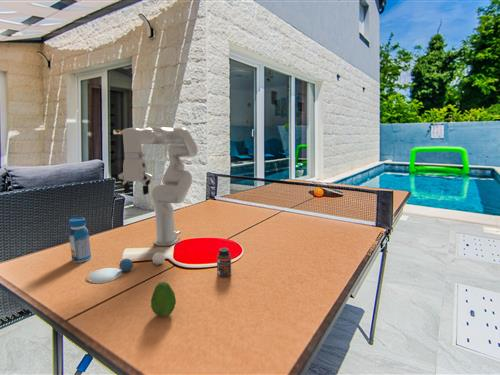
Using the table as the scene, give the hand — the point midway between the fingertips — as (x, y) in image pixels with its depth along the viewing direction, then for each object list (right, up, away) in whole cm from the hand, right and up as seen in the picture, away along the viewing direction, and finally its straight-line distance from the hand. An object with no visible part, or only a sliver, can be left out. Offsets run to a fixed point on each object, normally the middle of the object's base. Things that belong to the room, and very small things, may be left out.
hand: (136, 193), depth 147 cm
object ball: (-2, -31, -7) cm, 32 cm away
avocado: (+23, -40, -39) cm, 61 cm away
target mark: (-10, -35, -11) cm, 38 cm away
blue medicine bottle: (-28, -32, +6) cm, 43 cm away
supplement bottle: (+41, -34, -11) cm, 55 cm away
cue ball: (+10, -30, -1) cm, 31 cm away
